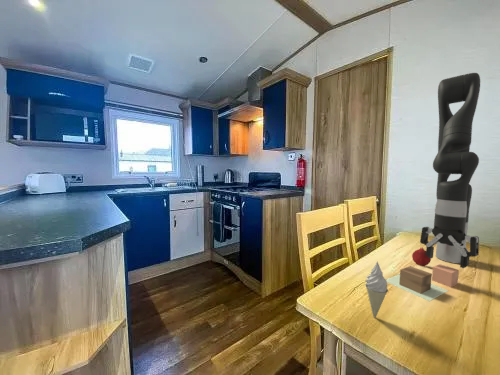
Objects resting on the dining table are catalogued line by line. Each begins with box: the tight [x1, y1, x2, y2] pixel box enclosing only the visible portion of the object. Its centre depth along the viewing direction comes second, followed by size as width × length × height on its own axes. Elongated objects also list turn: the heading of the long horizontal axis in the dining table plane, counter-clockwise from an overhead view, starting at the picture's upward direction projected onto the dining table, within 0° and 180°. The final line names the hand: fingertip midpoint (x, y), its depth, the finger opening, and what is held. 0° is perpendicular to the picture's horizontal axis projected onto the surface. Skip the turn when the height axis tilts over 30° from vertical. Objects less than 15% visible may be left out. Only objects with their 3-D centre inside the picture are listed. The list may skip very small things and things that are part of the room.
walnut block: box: [399, 265, 432, 294], centre depth 69 cm, size 6×6×5 cm
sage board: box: [385, 273, 449, 302], centre depth 70 cm, size 12×13×1 cm
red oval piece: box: [411, 246, 432, 267], centre depth 87 cm, size 6×6×8 cm
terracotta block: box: [431, 263, 460, 288], centre depth 73 cm, size 5×5×6 cm
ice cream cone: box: [364, 261, 389, 319], centre depth 56 cm, size 5×5×15 cm
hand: (445, 262), depth 72 cm, fingers open, 8 cm apart
